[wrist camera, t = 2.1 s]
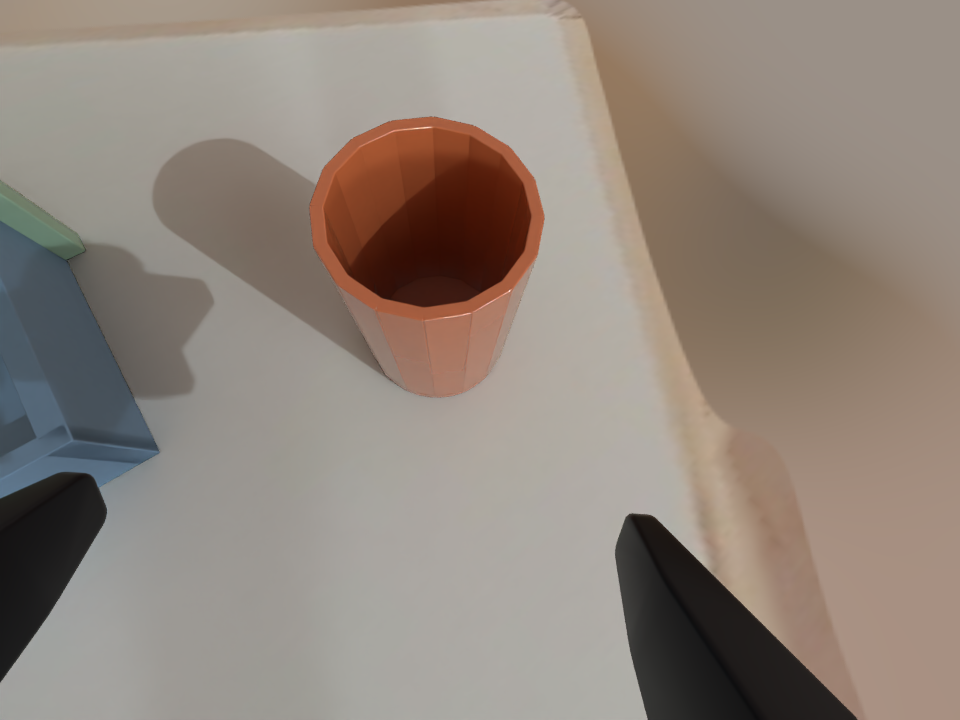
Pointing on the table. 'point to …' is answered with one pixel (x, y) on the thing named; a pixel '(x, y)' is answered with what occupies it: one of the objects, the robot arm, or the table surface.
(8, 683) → the table surface
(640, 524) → the robot arm
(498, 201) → the cup
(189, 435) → the table surface
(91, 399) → the door shelf
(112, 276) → the table surface
